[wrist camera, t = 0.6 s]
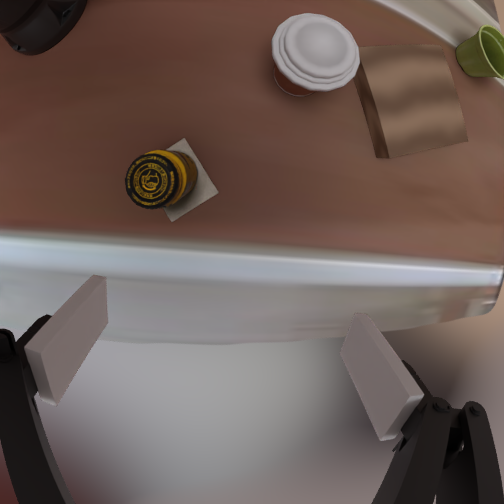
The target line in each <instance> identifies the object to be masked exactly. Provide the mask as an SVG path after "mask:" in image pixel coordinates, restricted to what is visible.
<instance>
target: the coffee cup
mask: <svg viewBox="0 0 504 504" xmlns="http://www.w3.org/2000/svg"><path fill="white" fill-rule="evenodd" d="M271 44H272V57H273V59H274V61H275V65H274V79H275V81H276V83H277V85H278V86H279V87H280V88H281V89H282V90H283V91H284V92H285V93H288V94H290V95H293V96H303V97H304V96H307V95H310V94H312V93H314V92H316V91H324V92H328V91H331V90H334V89H337V88H340V87H343V86H344V85H345V84H347V83H348V82H349V81H350V80H351V79H352V78H353V77H354V76H355V74H356V72H357V69H358V66H359V64H360V58H359V48H358V46H357V44H356V42H355V40H354V38H353V36H352V34H351V33H350V32H349V31H348V30H347V29H346V28H345V27H344V26H343V25H341V24H340V23H339V22H337V21H335V20H333V19H331V18H329V17H327V16H324V15H319V14H310V13H305V14H301V15H296V16H292V17H290V18H288V19H287V20H286V21H284V22H283V23H282V24H280V25H279V26H278V28H277V30H276V32H275V34H274V36H273V38H272V41H271Z"/></svg>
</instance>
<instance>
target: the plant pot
mask: <svg viewBox="0 0 504 504" xmlns="http://www.w3.org/2000/svg"><path fill="white" fill-rule="evenodd" d="M456 57H457V61H458V63H459V64H460V65H461V67H462V68H463V70H464V72H465V73H466V74H468V75H470V76H472V77H497V78H501V79H503V80H504V36H503V35H502V34H501V33H500V32H499V31H498V30H497V29H496V28H494V27H493V26H490V25H483V26H481V27H480V29H479V31H478V32H477V34H476V35H474V36H473V37H471V38H470V39H468V40H467V41H465V42H463V43H462V44H460V45H459V46H458V47H457V49H456Z"/></svg>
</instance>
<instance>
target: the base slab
mask: <svg viewBox="0 0 504 504" xmlns="http://www.w3.org/2000/svg"><path fill="white" fill-rule="evenodd" d="M358 48H359V58H360V64H359V66H358V69H357V72H356V74H355V76H354V77H353V79H354V81H355V84H356V87H357V90H358V94H359V97H360V100H361V103H362V106H363V110H364V113H365V116H366V120H367V123H368V127H369V130H370V134H371V138H372V142H373V146H374V150H375V154H376V158H394V157H398V156H402V155H406V154H411V153H415V152H420V151H424V150H429V149H433V148H438V147H443V146H447V145H452V144H457V143H462V142H468V137H467V132H466V128H465V123H464V119H463V115H462V110H461V106H460V103H459V99H458V95H457V92H456V88H455V85H454V82H453V78H452V75H451V72H450V69H449V66H448V63H447V60H446V58H445V55H444V52H443V49H442V47H441V45H383V46H367V47H358Z"/></svg>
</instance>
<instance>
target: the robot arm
mask: <svg viewBox="0 0 504 504" xmlns="http://www.w3.org/2000/svg"><path fill="white" fill-rule="evenodd" d="M86 2H87V0H0V33H1V35H2V36H3V37H4V38H5V40H6V41H7V42H8V44H9V45H10V46H11V47H12V48H13V49H14V50H15V51H17V52H19V53H22V54H25V55H36V54H39V53H42V52H44V51H46V50H48V49H50V48H51V47H53V46H54V45H55V44H57V43H58V42H59V41H60V40H61V39H63V38H64V37H65V36H66V35H67V34H68V33H69V31H70V30H71V29H72V28H73V27H74V25H75V24H76V22H77V21H78V19H79V18H80V16H81V14H82V12H83V10H84V8H85V5H86ZM107 324H108V313H107V289H106V277H102V276H97V275H93V276H92V277H91V278H90V279H89V280H88V281H86V282H85V283H84V284H83V285H82V286H81V287H80V288H79V289H78V290H77V291H76V292H75V293H74V294H73V295H72V296H71V297H70V298H69V299H68V300H67V301H66V302H65V303H64V305H63V306H62V307H61V308H60V309H59V310H58V311H57V312H56V313H55V314H54V315H53V316H51V315H45V316H43V317H41V318H39V319H37V320H36V321H35V322H34V323H33V325H32V326H31V327H30V328H29V329H28V330H27V331H26V332H25V333H24V334H23V335H22V336H21V337H20V338H19V339H18V340H17V342H15V338H14V335H13V333H12V332H11V331H10V330H7V329H0V440H1V445H2V448H3V453H4V457H5V461H6V465H7V468H8V472H9V475H10V479H11V481H12V485H13V488H14V491H15V494H16V497H17V500H18V502H19V504H75V502H74V500H73V498H72V496H71V494H70V492H69V490H68V488H67V486H66V484H65V481H64V479H63V477H62V475H61V472H60V470H59V468H58V465H57V463H56V461H55V458H54V456H53V453H52V450H51V448H50V445H49V443H48V439H47V437H46V434H45V431H44V428H43V425H42V422H41V419H40V415H39V412H38V409H37V405H36V402H35V399H34V396H35V394H36V393H37V391H38V392H39V395H40V398H41V400H42V401H44V402H47V403H49V404H52V405H54V406H57V405H58V403H59V402H60V400H61V398H62V396H63V395H64V393H65V391H66V389H67V388H68V386H69V384H70V383H71V381H72V379H73V377H74V376H75V374H76V373H77V371H78V369H79V368H80V366H81V364H82V363H83V361H84V360H85V358H86V356H87V355H88V353H89V351H90V350H91V348H92V347H93V345H94V343H95V342H96V341H97V339H98V337H99V336H100V334H101V333H102V331H103V330H104V328H105V327H106V325H107ZM340 355H341V358H342V360H343V362H344V364H345V366H346V368H347V370H348V372H349V374H350V376H351V379H352V381H353V383H354V385H355V387H356V389H357V392H358V394H359V396H360V398H361V400H362V402H363V404H364V406H365V409H366V411H367V413H368V415H369V418H370V420H371V422H372V424H373V426H374V429H375V431H376V433H377V435H378V438H379V440H380V441H383V440H389V439H394V438H395V437H396V436H397V434H398V433H399V431H400V430H401V431H402V433H403V435H404V436H403V437H402V439H401V440H400V441H399V442H398V444H397V445H396V446H395V448H394V449H393V450H392V451H393V452H394V451H395V450H396V449H397V450H396V452H395V454H394V457H393V459H392V462H391V464H390V467H389V469H388V471H387V473H386V475H385V478H384V480H383V482H382V484H381V486H380V488H379V490H378V492H377V494H376V496H375V498H374V500H373V502H372V504H433V502H434V498H435V495H436V504H504V495H503V488H502V481H501V475H500V469H499V464H498V459H497V454H496V449H495V445H494V441H493V437H492V433H491V429H490V425H489V421H488V418H487V414H486V411H485V409H484V408H483V407H482V406H481V405H480V404H479V403H477V402H474V401H469V402H467V403H466V404H465V405H464V407H463V408H462V409H454V408H452V407H451V406H450V404H449V403H448V402H447V401H446V400H444V399H442V398H439V397H433V396H432V395H431V394H430V392H429V391H428V389H427V388H426V386H425V385H424V383H423V382H422V381H421V380H420V378H419V376H418V375H416V372H415V371H414V370H413V368H412V367H411V366H410V365H409V364H408V363H406V362H405V361H404V360H402V361H401V360H400V359H399V357H398V356H397V355H396V353H395V352H394V350H393V349H392V347H391V346H390V345H389V343H388V342H387V341H386V339H385V338H384V336H383V335H382V334H381V332H380V331H379V330H378V328H377V327H376V325H375V324H374V323H373V321H372V320H371V319H370V317H369V316H368V315H367V314H363V313H355V314H354V316H353V319H352V322H351V325H350V328H349V330H348V333H347V336H346V338H345V341H344V343H343V346H342V349H341V351H340ZM463 445H464V447H463V450H462V446H463Z"/></svg>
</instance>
